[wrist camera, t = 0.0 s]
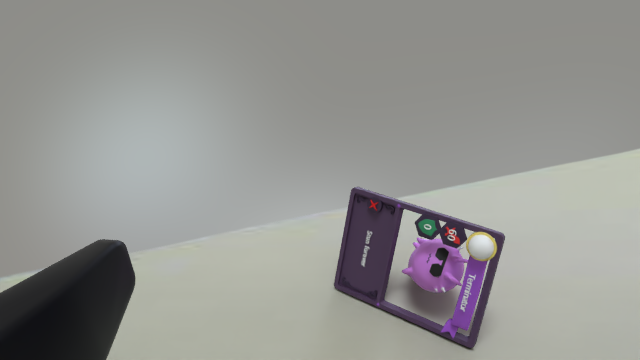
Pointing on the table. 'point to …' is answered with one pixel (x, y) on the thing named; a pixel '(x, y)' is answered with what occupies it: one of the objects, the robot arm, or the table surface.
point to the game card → (417, 260)
